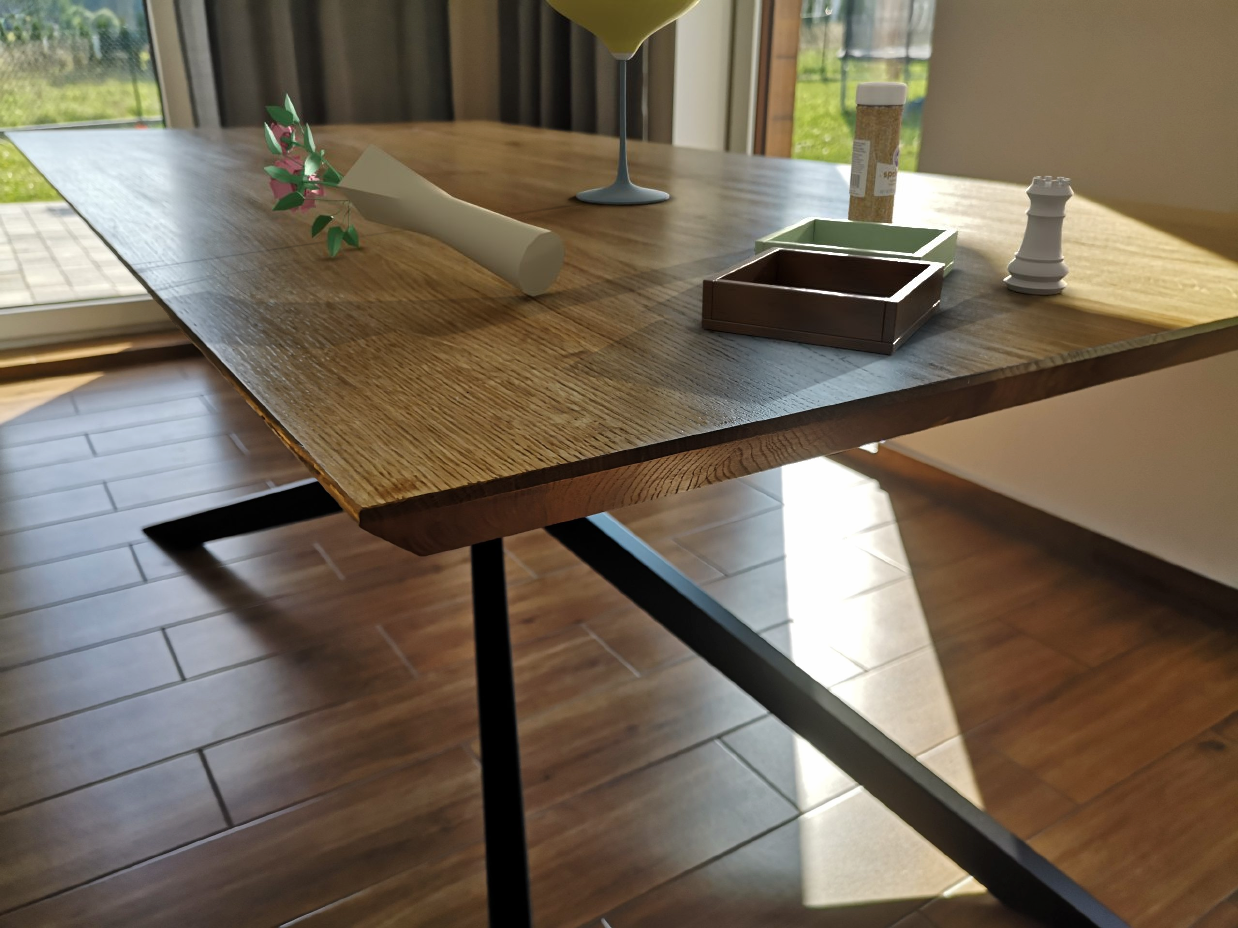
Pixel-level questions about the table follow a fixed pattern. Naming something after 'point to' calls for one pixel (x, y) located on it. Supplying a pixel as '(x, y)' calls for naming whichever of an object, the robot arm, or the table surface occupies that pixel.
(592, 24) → the cocktail glass
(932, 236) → the green bin
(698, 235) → the table surface
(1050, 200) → the rook chess piece
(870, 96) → the sprinkles bottle
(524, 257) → the flower vase
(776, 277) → the walnut bin
